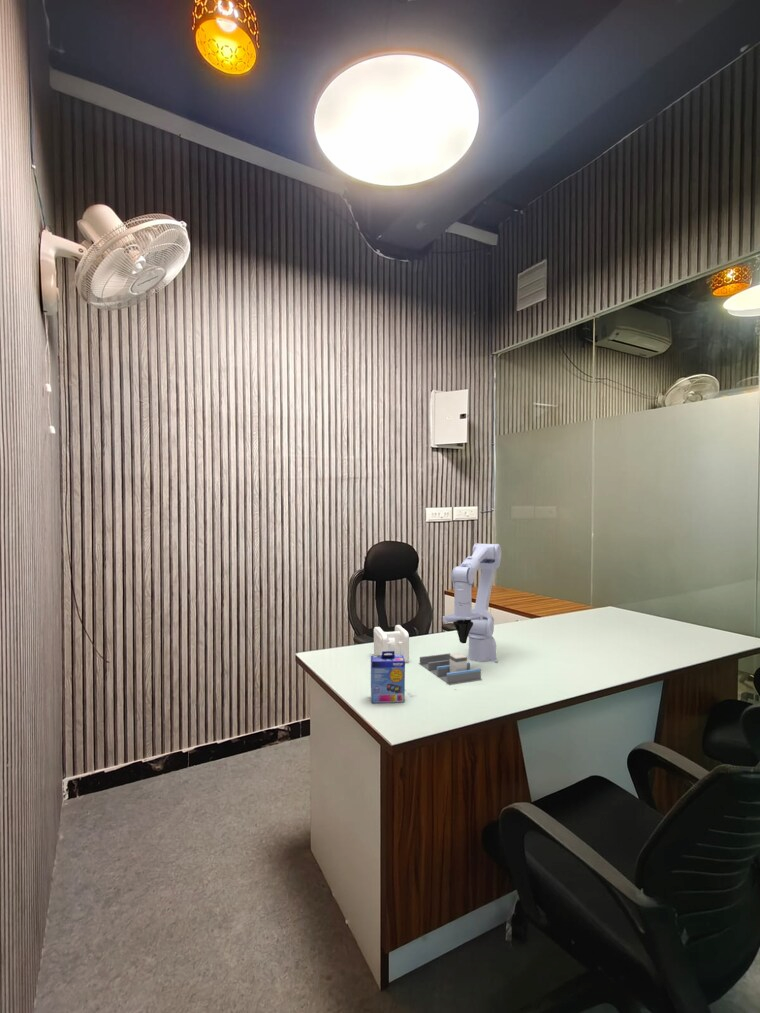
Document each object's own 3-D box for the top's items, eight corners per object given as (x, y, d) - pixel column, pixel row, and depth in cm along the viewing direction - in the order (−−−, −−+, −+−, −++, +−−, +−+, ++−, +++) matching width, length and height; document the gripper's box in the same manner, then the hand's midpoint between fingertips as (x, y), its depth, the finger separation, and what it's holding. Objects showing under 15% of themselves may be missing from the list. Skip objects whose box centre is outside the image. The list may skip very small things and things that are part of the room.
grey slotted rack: (448, 662, 165) (448, 650, 166) (482, 683, 145) (482, 670, 145) (418, 666, 161) (418, 654, 161) (449, 688, 141) (449, 674, 141)
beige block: (460, 674, 150) (460, 653, 150) (467, 678, 146) (466, 656, 146) (449, 675, 149) (449, 654, 149) (455, 680, 145) (455, 658, 145)
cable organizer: (410, 666, 161) (410, 633, 161) (381, 668, 159) (381, 635, 159) (398, 653, 176) (398, 623, 176) (372, 655, 173) (372, 625, 173)
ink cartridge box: (371, 704, 129) (371, 652, 129) (370, 696, 135) (370, 647, 135) (405, 702, 130) (405, 651, 130) (403, 695, 135) (403, 646, 136)
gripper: (450, 605, 148) (450, 647, 148) (487, 602, 153) (488, 643, 153) (439, 601, 154) (439, 642, 154) (476, 599, 160) (476, 638, 159)
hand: (462, 642), depth 154 cm, fingers closed
